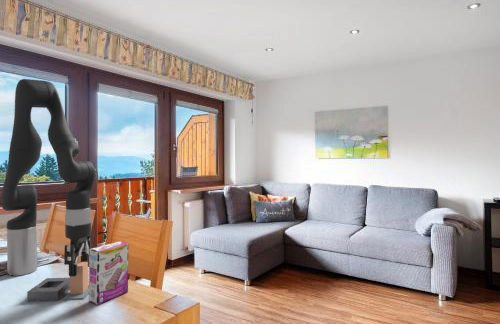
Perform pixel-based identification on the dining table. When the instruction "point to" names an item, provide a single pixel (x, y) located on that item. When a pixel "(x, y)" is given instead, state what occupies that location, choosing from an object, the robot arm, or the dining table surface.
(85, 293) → the mat
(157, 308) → the dining table surface
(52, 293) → the grey socket frame
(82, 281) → the plug
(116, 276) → the candy bar box
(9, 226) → the robot arm
